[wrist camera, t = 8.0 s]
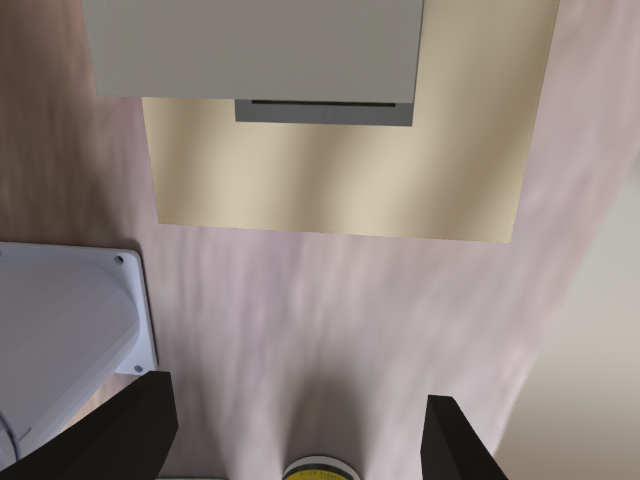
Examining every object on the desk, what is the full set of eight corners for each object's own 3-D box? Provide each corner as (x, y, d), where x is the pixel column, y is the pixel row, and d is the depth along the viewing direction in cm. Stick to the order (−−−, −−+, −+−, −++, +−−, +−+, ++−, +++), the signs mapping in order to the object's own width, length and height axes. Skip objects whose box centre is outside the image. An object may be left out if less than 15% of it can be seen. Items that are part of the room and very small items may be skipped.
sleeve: (257, 116, 16) (235, 121, 14) (250, -79, 14) (221, -120, 11) (403, 119, 16) (412, 126, 13) (422, -83, 13) (437, -126, 11)
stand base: (173, 214, 20) (158, 223, 19) (121, -208, 14) (95, -240, 13) (499, 231, 19) (509, 242, 17) (589, -234, 13) (615, -273, 11)
